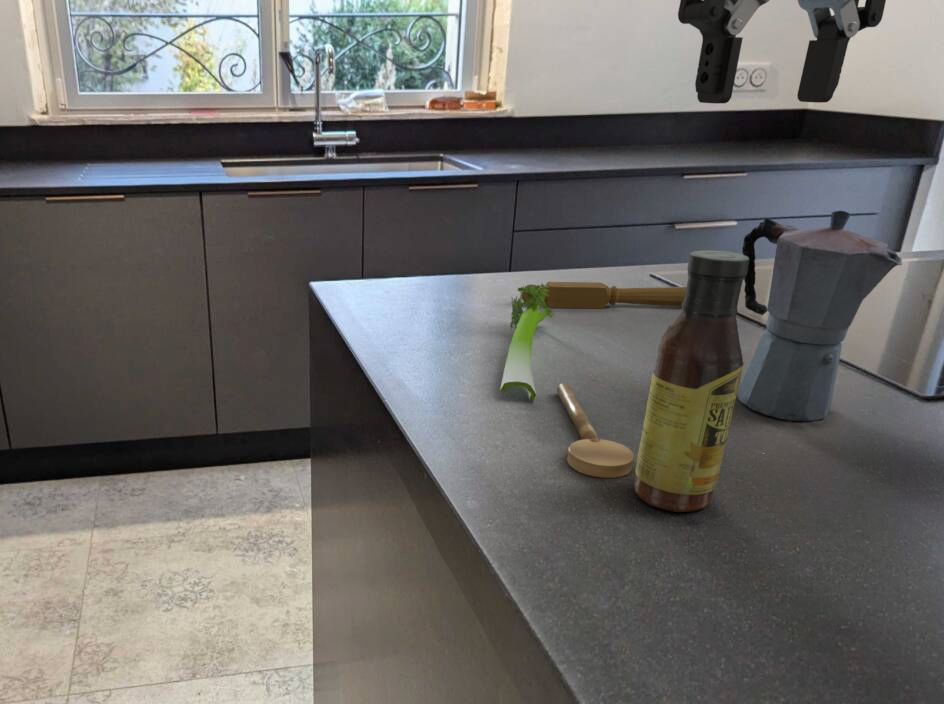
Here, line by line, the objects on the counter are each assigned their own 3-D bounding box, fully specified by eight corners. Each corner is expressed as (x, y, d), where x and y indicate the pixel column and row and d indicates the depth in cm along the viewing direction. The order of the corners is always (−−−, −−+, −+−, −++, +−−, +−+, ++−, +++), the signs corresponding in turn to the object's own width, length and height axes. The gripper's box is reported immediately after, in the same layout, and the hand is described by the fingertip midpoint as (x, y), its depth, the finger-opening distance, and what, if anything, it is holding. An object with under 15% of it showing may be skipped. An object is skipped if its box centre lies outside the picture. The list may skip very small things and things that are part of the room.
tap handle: (734, 289, 118) (524, 286, 118) (730, 310, 119) (522, 307, 120) (726, 284, 121) (520, 281, 121) (721, 304, 122) (518, 301, 122)
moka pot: (829, 441, 78) (891, 226, 69) (684, 392, 89) (722, 202, 81) (876, 418, 83) (938, 215, 74) (733, 375, 94) (773, 194, 86)
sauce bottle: (703, 524, 64) (760, 269, 55) (622, 503, 67) (664, 258, 58) (718, 490, 69) (773, 252, 60) (642, 472, 72) (684, 242, 63)
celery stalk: (481, 412, 88) (504, 315, 114) (546, 427, 87) (554, 325, 113) (493, 361, 85) (514, 272, 110) (561, 375, 84) (566, 282, 109)
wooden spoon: (535, 392, 89) (536, 380, 88) (587, 393, 89) (589, 381, 88) (574, 477, 71) (576, 462, 70) (639, 478, 71) (642, 464, 70)
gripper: (787, -245, 41) (721, 107, 48) (981, -213, 46) (895, 104, 53) (682, -205, 47) (637, 101, 54) (862, -180, 52) (799, 99, 59)
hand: (764, 102), depth 53 cm, fingers open, 8 cm apart
